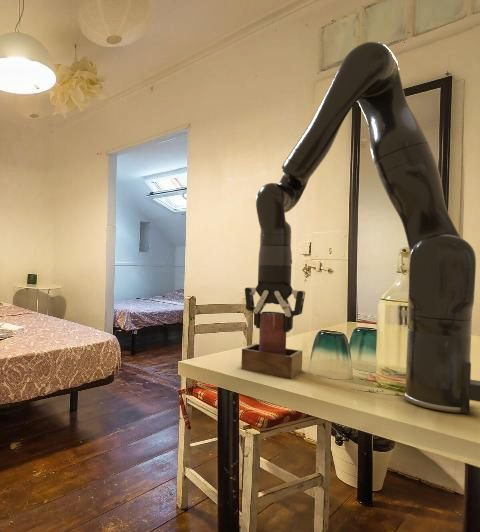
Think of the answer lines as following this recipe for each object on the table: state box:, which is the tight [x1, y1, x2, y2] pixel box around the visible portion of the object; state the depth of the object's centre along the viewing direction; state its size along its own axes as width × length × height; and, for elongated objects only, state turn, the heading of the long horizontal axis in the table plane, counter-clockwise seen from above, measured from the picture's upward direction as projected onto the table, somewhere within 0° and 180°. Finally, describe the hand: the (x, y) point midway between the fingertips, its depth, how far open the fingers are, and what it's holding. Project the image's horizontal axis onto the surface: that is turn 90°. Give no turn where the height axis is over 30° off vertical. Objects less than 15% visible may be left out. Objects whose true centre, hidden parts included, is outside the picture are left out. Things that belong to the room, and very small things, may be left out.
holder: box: [240, 343, 303, 380], centre depth 100 cm, size 12×10×5 cm
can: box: [258, 311, 287, 356], centre depth 100 cm, size 6×6×14 cm
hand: (272, 329), depth 100 cm, fingers closed on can, 6 cm apart
